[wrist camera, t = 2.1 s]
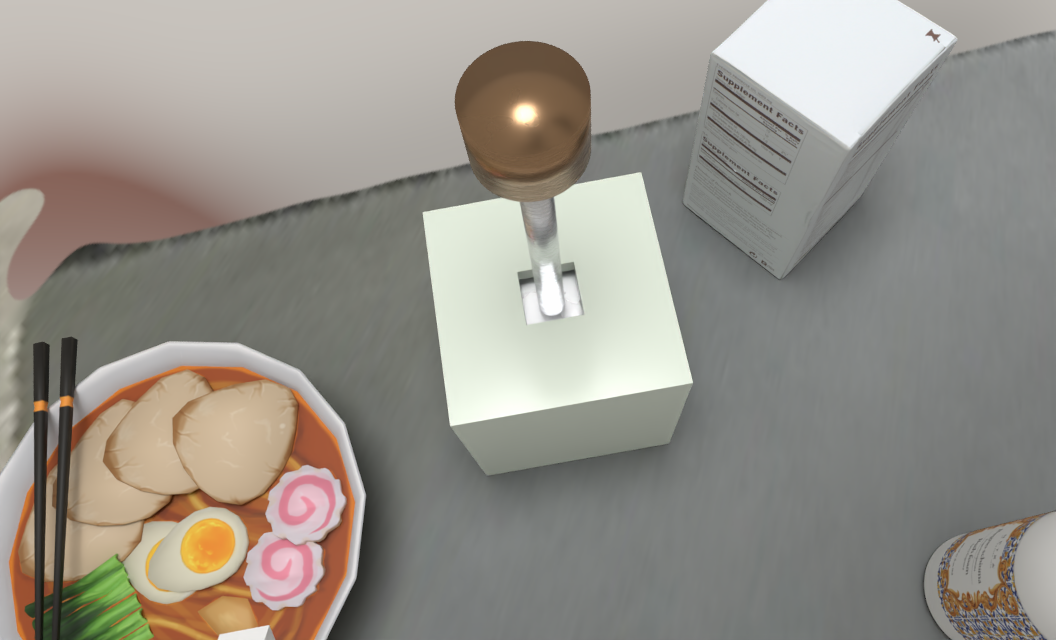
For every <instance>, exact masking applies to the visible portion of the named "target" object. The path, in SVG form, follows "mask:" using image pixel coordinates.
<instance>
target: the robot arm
mask: <svg viewBox="0 0 1056 640" xmlns="http://www.w3.org/2000/svg"><path fill="white" fill-rule="evenodd" d="M218 640H275V638H274V635H273V633H272V630H271V628H270V626H269V625H267V626H262V627H256V628H251V629H246V630H240V631H235V632H230V633H224V634H220V635H219V638H218Z"/></svg>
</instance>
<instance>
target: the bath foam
mask: <svg viewBox="0 0 1056 640" xmlns="http://www.w3.org/2000/svg"><path fill="white" fill-rule="evenodd" d="M924 591H925V597H926V601H927V604H928V607H929V610H930V612H931V614H932V616H933V618H934V620H935V621H936V623H937V624H938V626H939V627H940V628H941V629H942V631H943V632H944V633H945V634H946V635H947V636H948V637H949V638H951V639H952V640H1056V511H1052V512H1048V513H1044V514H1040V515H1036V516H1032V517H1028V518H1024V519H1020V520H1016V521H1012V522H1008V523H1004V524H1000V525H996V526H992V527H988V528H984V529H980V530H976V531H973V532H969V533H965V534H962V535H959V536H956V537H953V538H951V539H949V540H948V541H946V542H945V543H943V544H942V545H941V546H940V547H939V548H938V549H937V550H936V551H935V552H934V554H933V555H932V557H931V558H930V560H929V562H928V565H927V568H926V571H925V577H924Z"/></svg>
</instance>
